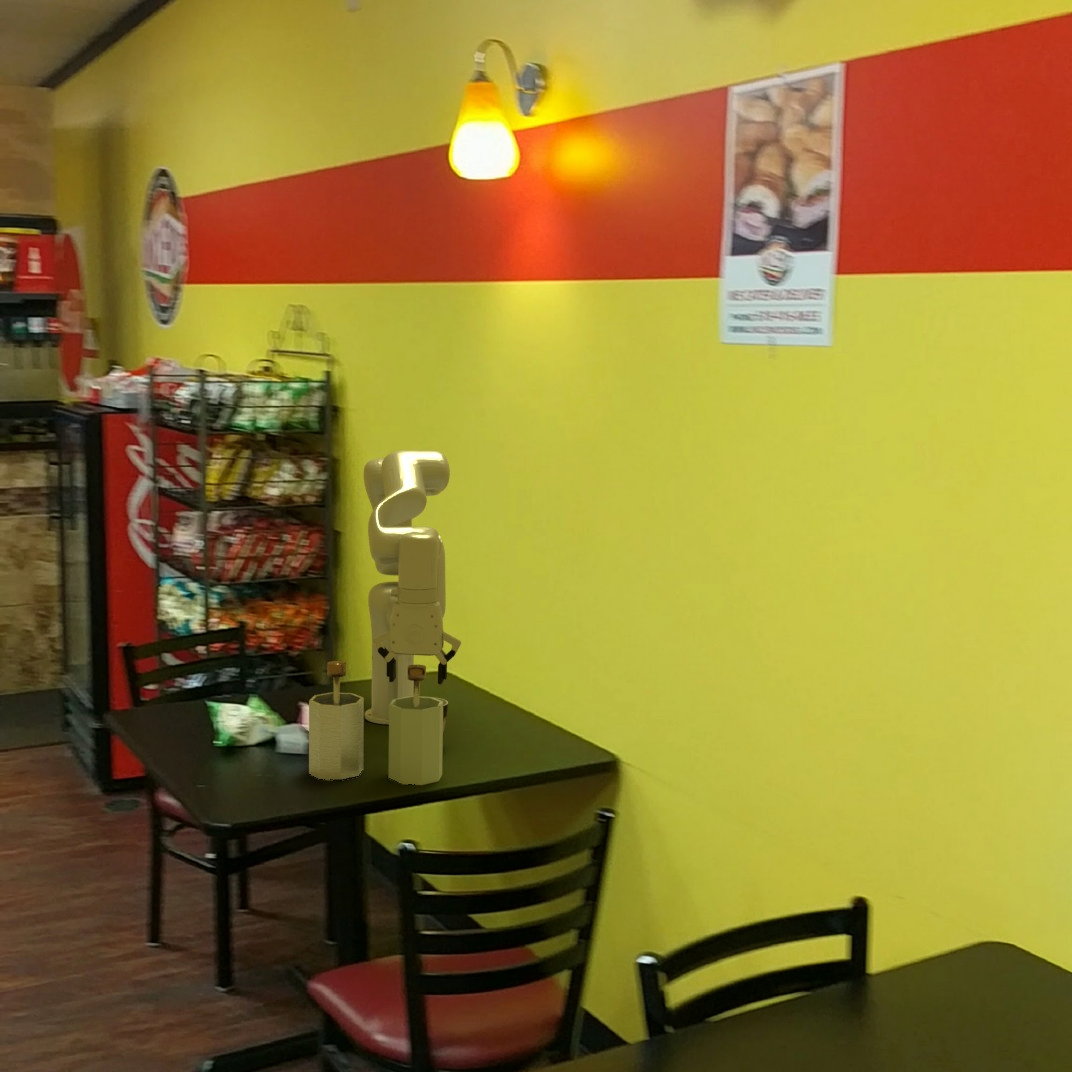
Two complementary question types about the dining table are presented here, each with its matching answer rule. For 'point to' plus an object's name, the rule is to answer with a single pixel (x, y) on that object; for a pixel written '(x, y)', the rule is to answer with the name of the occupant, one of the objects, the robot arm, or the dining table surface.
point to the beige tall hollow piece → (336, 736)
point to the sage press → (415, 740)
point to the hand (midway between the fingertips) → (416, 681)
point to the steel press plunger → (336, 677)
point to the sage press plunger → (416, 681)
